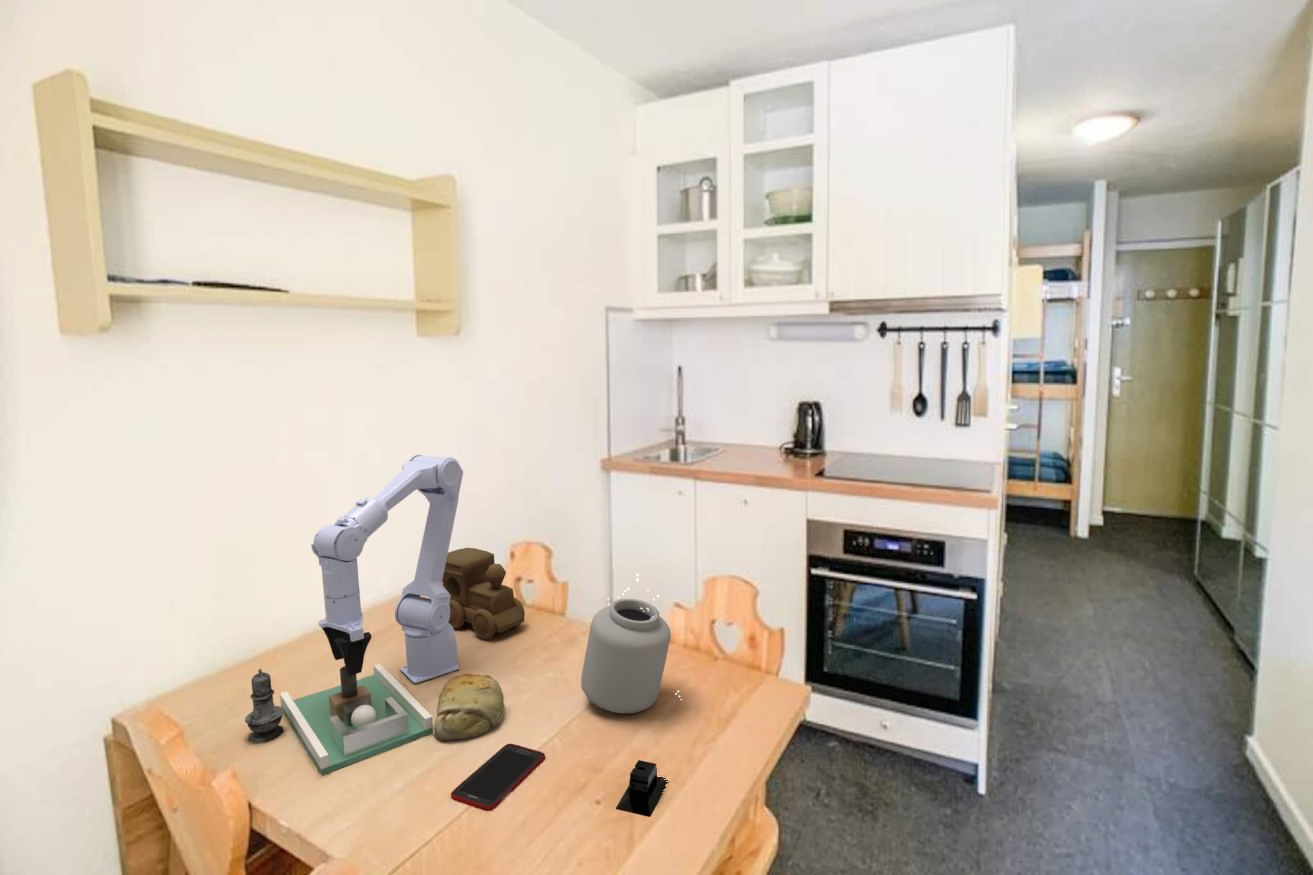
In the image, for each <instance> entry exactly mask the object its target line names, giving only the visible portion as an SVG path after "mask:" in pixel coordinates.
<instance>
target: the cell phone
mask: <svg viewBox="0 0 1313 875" xmlns="http://www.w3.org/2000/svg"><path fill="white" fill-rule="evenodd" d="M544 760H546V754H545V753H544V752H542V751H539V750H536V749H532V748H530V747H525V746H523V745H519V744H514V743H507V744H505V745H504V746H503V747H501V748H500V749H499V750H498V751H497V752H495V753H494V754H492V756H491V757H490V758H489V759H487V760H486V761H485V762H484V763H483V764H481V766H479V767H478V768H477V769H476V770H475V771H474V772H472V773H471V774H470V775H469V776H468V777H466V778H465V779H464V780H463V781H462V782H461V783H460V784H459V785H458V786H456V787H455V788H453V790H452V791H451V794H450V798H451V800H453V801H455V802H458V803H461V804H465V805H468V806H470V807H473V808H476V809H479V810H482V811H487V812H491V811H493V810H494V809H495V808H497V806H499V805H500V804H501V803H502V802H503V800H504V799H505V798H506V797H507V796H508V795H509V794H510V793H512V792H513V791H514V790H515V789H516V788H518V786H519V785H520V784H521V783H523V781H524V780H525V779H526V778H527V777H528V776H530V774H532V772H534V770H536V768H538V767H539V766H540V765H541V764H542V763H543V761H544Z"/></svg>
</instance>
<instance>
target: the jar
mask: <svg viewBox="0 0 1313 875" xmlns="http://www.w3.org/2000/svg"><path fill="white" fill-rule="evenodd" d="M635 576H636V577H639V574H638V573H637V574H636V575H635ZM639 581H640V579H639V578H636V582H639ZM627 591H630V587H627V588H626V589H625V590H623V593H622V596H624V593H626V592H627ZM646 591H647V592H649V589H647V590H646ZM656 597H657V598H660V595H656ZM617 598H618V599H615V601H613V602H612V603H608V606H606V607H605V606H604V607H602V608H601V609H599V611H597V612H596V613H595V614H594V615H593V618H592V620H591V623H590V628H589V634H588V638H587V644H586V650H585V655H584V662H583V664H582V665H583V666H582V671H581V677H580V678H581V679H580V686H581V690H582V691H583V693H584V695H585V697H586V698H587V699H588V700H589V701H590V702H591V703H592V704H594V705H595V706H597V707H599V708H601V709H603V710H606V711H608V712H612V713H617V714H637V713H640V712H643V711H645V710H647V709H649V708H650V707H651V706H653V705H654V704H655V702H656V700H657V699H658V697H659V693H660V689H661V684H662V680H663V676H664V670H665V666H666V661H667V656H668V652H669V647H670V643H671V639H672V638H671V636H672V633H671V632H672V631H671V629H670V626H669V625H668V623H667V622H666V621H665V619H664V618H663V617H661V616H660V612H659V610H658V609H657V608H656V607H655V606H654V605H652V604H650V603H649V602H646V601H643V600H641V599H640V600H639V599H634V598H620V596H617ZM607 600H608V601H609V600H610V599H609V598H607ZM652 600H653V601H655V598H653V599H652ZM677 693H680V690H677V692H676V693H675V696H676V695H677ZM678 698H681V695H678ZM681 700H683V698H681V699H680V701H681Z"/></svg>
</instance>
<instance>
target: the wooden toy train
mask: <svg viewBox="0 0 1313 875" xmlns="http://www.w3.org/2000/svg"><path fill="white" fill-rule="evenodd" d="M506 574H507V571H506V570H505V568H504V567H503V566H502V564H500V563H495V553H492V552H489V551H488V550H483V549H479V548H474V547H464V548H460V549H459V548H458V549H455V550H453V551H448V555H447V560H446V565H445V570H444V575H443V580H442V585H443V586H444V588H445V589H446V590H447V591H448V593H449V594H450V596H451V597H450V618H449V621H448V623H449V624H451V626H452V627H453V629H454V630H457V629H461V628H462V626H464V624H465V622H466V623H470V624H471V626H472V628H473V631H474V632H475V634H476V635H477V637H478V638H480V639H482V640H488V641H489V640H490V639H492V637H494V636H495V634H496V632H497V633H502V632H504V631H507V630H508V629H511V628H513V627H518V626H520V625H522V623H524V622H525V608H524V606H523V603H522V602H521V601H520V600H519V599H518V598H516V597H514V588H513V587H509V586H507V585H504V584H503V582H504V579H505V577H506Z"/></svg>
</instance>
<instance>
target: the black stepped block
mask: <svg viewBox="0 0 1313 875" xmlns="http://www.w3.org/2000/svg"><path fill="white" fill-rule="evenodd" d="M657 775H658V767H657V763H654V762H650V761H645V760H639V759H638V760H637V762H636V763H635V765H634V767H633V768H632V770H631V772H629V781H628V783H629V784H628V786H627V788H626V790H625V791H624V793H623V795H622V797H621V798H620V799H619V802H618V804H616V806H615V810H618V811H622V812H626V813H630V814H634V815H638V816H643V817H648V818H650V817H652V815H653V813H654V811H655V809H656V807H657V806H658V804H659V802H660V799H661V798H662V796H663V794H664V793H665V791H663V790H664V789H665V788H666V789H667V787H666V786H665V785H666V784H667V783H668V784H669V783H670V781H669V782H666V781H668V780H664V779H666V778H663V777H657ZM666 789H665V790H666ZM662 792H664V793H662Z"/></svg>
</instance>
